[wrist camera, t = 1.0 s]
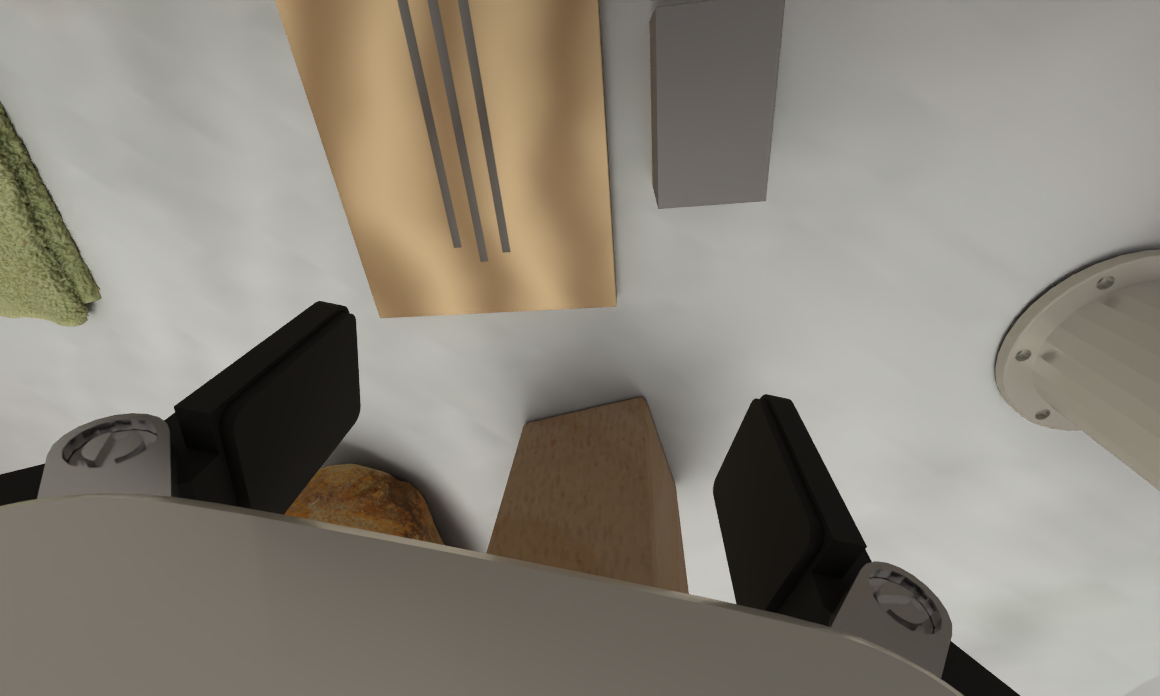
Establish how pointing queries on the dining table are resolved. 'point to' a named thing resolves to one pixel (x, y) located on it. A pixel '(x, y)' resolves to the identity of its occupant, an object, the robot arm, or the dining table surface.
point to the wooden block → (594, 498)
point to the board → (465, 148)
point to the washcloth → (36, 245)
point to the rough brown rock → (366, 503)
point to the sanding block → (713, 100)
